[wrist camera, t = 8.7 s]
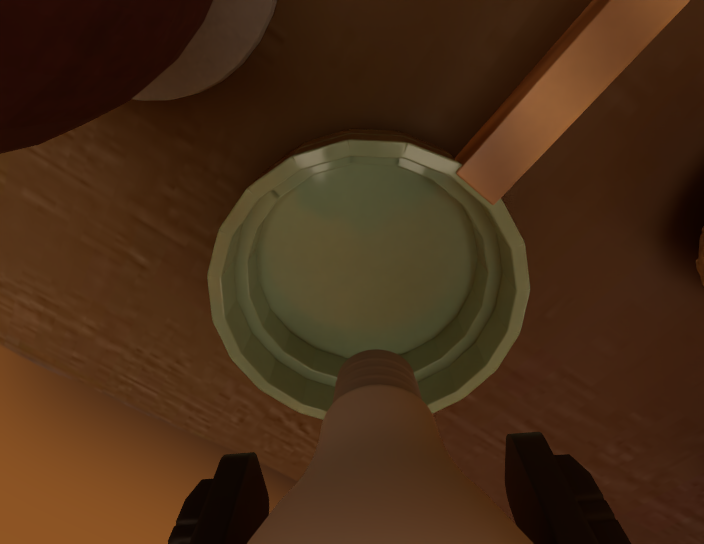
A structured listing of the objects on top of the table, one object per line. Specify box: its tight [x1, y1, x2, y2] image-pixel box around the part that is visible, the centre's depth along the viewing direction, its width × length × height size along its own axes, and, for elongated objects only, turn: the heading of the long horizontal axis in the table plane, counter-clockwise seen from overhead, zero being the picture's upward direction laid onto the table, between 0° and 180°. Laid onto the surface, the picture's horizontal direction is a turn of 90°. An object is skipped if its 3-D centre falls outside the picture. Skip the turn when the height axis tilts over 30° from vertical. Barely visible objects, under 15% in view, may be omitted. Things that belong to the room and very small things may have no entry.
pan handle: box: [455, 0, 690, 205], centre depth 14 cm, size 12×2×2 cm, turn 142°
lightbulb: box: [247, 349, 534, 544], centre depth 9 cm, size 6×6×11 cm
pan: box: [207, 129, 530, 420], centre depth 20 cm, size 14×14×4 cm
